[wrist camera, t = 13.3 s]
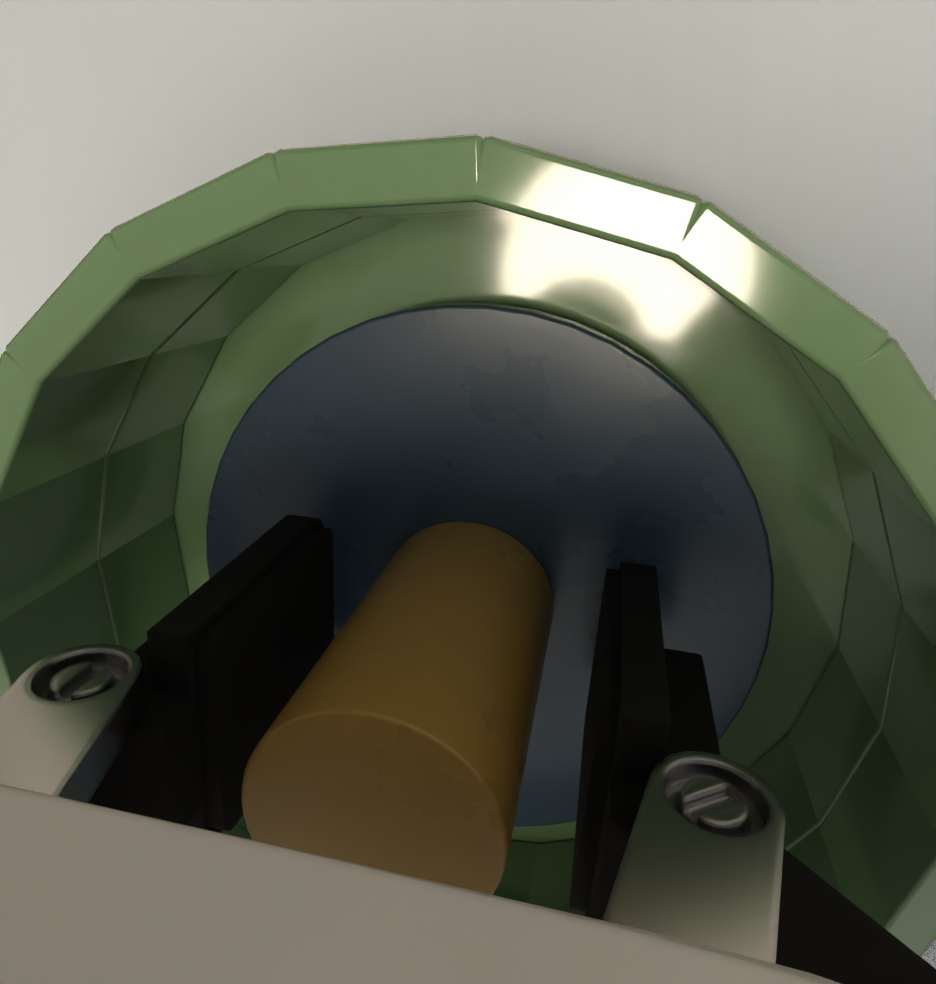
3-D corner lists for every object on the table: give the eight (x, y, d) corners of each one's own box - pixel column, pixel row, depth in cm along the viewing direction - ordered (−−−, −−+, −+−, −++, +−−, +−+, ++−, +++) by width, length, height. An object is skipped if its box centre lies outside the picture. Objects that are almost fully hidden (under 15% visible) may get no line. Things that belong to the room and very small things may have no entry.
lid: (896, 533, 12) (1170, 830, 6) (540, 865, 15) (490, 1242, 10) (395, 171, 11) (153, 104, 6) (160, 602, 15) (-126, 828, 9)
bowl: (1075, 506, 11) (1381, 690, 7) (563, 938, 17) (541, 1205, 12) (369, -9, 11) (185, -184, 6) (76, 603, 16) (-138, 747, 12)
